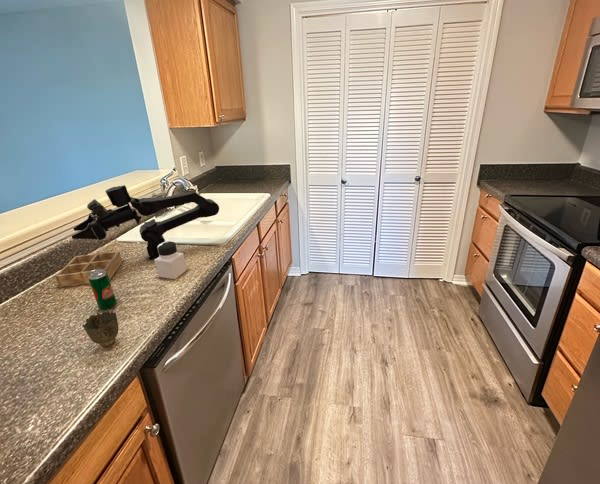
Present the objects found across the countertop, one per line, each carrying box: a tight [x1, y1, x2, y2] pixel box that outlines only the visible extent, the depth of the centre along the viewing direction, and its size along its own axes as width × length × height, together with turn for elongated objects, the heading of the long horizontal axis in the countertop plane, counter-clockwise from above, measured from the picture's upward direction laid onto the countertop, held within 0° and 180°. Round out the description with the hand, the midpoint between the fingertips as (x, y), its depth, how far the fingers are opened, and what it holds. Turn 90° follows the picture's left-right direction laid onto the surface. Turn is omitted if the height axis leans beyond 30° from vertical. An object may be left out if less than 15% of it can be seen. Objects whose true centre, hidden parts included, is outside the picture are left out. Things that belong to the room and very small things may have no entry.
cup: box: [82, 309, 119, 348], centre depth 83 cm, size 8×7×8 cm
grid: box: [54, 250, 123, 288], centre depth 120 cm, size 16×16×4 cm
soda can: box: [88, 269, 118, 311], centre depth 98 cm, size 5×5×12 cm
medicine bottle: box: [154, 241, 188, 280], centre depth 115 cm, size 7×7×12 cm
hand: (73, 233), depth 115 cm, fingers open, 9 cm apart
